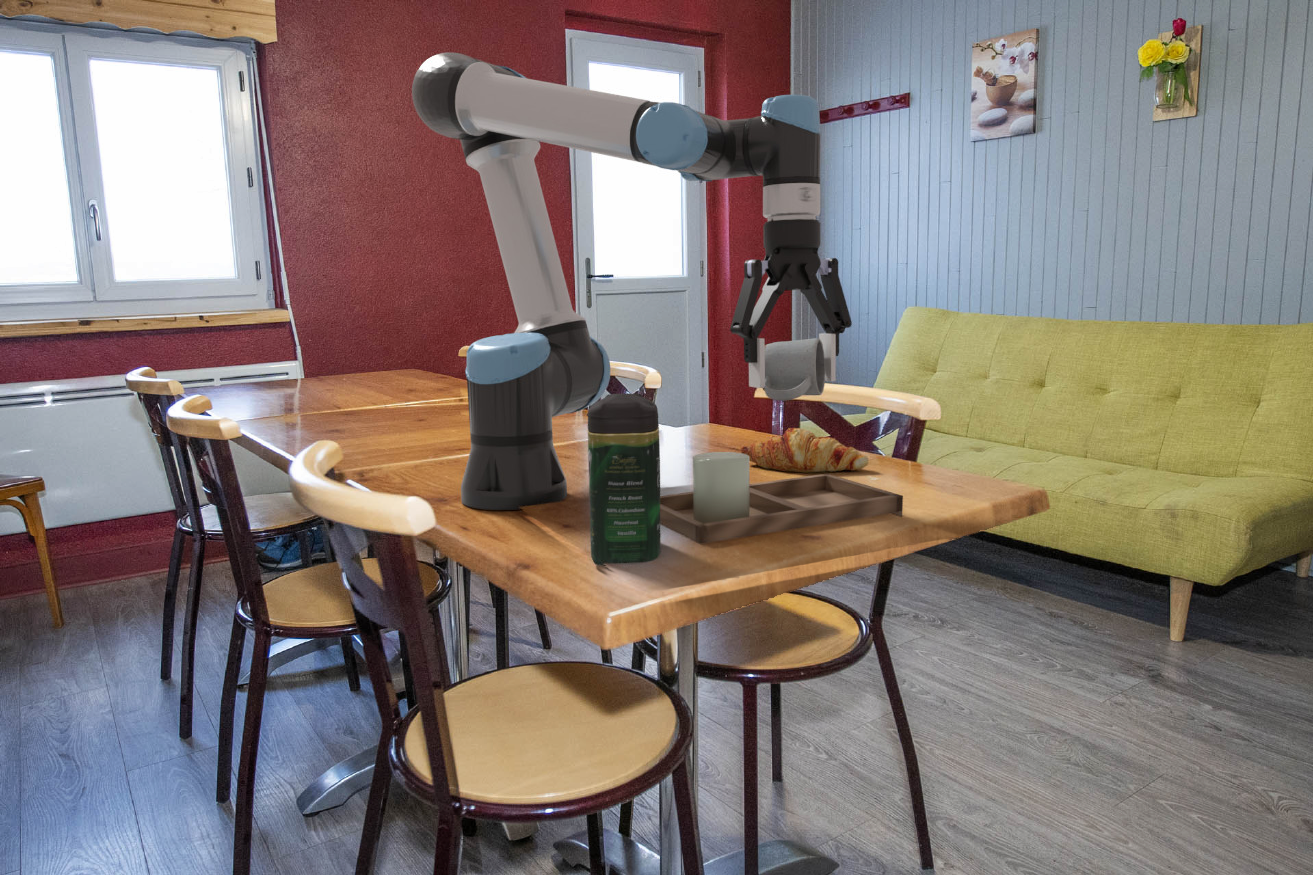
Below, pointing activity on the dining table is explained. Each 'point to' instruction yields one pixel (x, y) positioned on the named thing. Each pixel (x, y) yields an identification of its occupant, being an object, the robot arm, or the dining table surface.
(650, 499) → the coffee jar
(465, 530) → the dining table surface
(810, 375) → the ceramic mug
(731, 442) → the dining table surface
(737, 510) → the pale green pillar candle
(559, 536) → the dining table surface
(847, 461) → the croissant
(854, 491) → the caddy
